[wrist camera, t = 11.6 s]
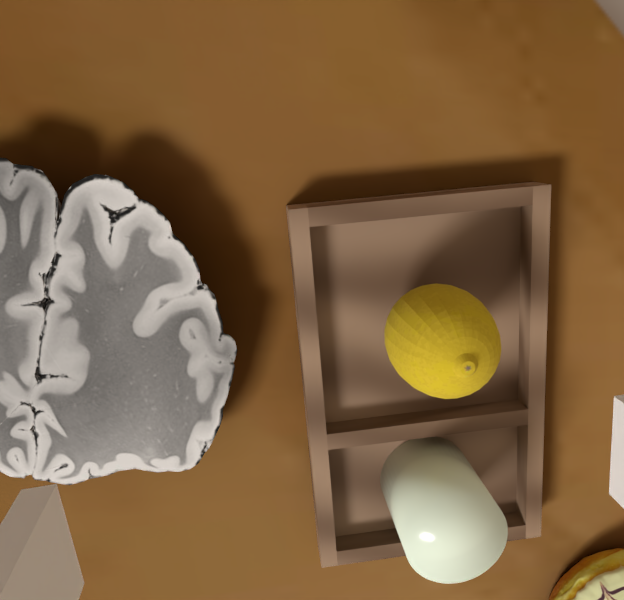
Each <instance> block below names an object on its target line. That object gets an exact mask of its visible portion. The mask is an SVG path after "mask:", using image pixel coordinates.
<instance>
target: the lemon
mask: <svg viewBox="0 0 624 600" xmlns="http://www.w3.org/2000/svg"><path fill="white" fill-rule="evenodd" d="M384 337H385V347H386V350H387V354H388V357H389V360H390V362H391V363H392V365H393V366H394V368H395V370H396V371H397V373H398V374H399V375H400V376H401V377H402V378H403V379H404V380H405V381H406V382H407V383H408V384H410V385H411V386H412V387H413V388H415V389H417V390H419V391H421V392H423V393H425V394H427V395H429V396H433V397H437V398H442V399H455V398H460V397H464V396H467V395H470V394H472V393H474V392H476V391H478V390H479V389H481V388H482V387H483V386H484V385H485V384H486V383H487V382H488V381H489V380H490V379H491V377H492V376H493V374H494V373H495V371H496V369H497V366H498V364H499V362H500V356H501V339H500V333H499V331H498V328H497V325H496V323H495V320H494V318H493V317H492V315H491V314H490V312H489V311H488V310H487V308H486V307H485V306H484V305H483V303H482V302H481V301H480V300H478V299H477V298H476V297H474V296H473V295H472V294H470V293H469V292H467V291H465V290H463V289H460V288H457V287H455V286H452V285H447V284H437V283H436V284H428V285H422V286H420V287H417V288H415V289H412V290H410V291H409V292H408V293H406V294H405V295H403V296H402V297H401V298H400V299H399V300H398V301H397V302H396V303H395V305H394V306H393V307H392V309H391V311H390V313H389V315H388V317H387V321H386V325H385V330H384Z"/></svg>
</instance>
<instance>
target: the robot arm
mask: <svg viewBox="0 0 624 600" xmlns="http://www.w3.org/2000/svg"><path fill="white" fill-rule="evenodd" d="M609 494H610V495H611V496H612V497H613V498H614V499H615V500H616V501H617V502H618V503H619V504H620V505H621V506H622V507H623V508H624V395H619V396H614V407H613V427H612V446H611V466H610V485H609ZM83 585H84V580H83V577H82V573H81V570H80V566H79V563H78V559H77V555H76V552H75V548H74V545H73V541H72V538H71V534H70V530H69V527H68V523H67V520H66V516H65V513H64V509H63V505H62V502H61V498H60V495H59V491H58V488H57V484H54V485H48V486H41V487H35V488H29V489H22V490H21V491H20V493H19V494H18V496H17V498H16V499H15V501H14V503H13V504H12V506H11V508H10V510H9V511H8V513H7V515H6V516H5V518H4V520H3V521H2V523H1V525H0V600H79V597H80V594H81V591H82V588H83Z"/></svg>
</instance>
